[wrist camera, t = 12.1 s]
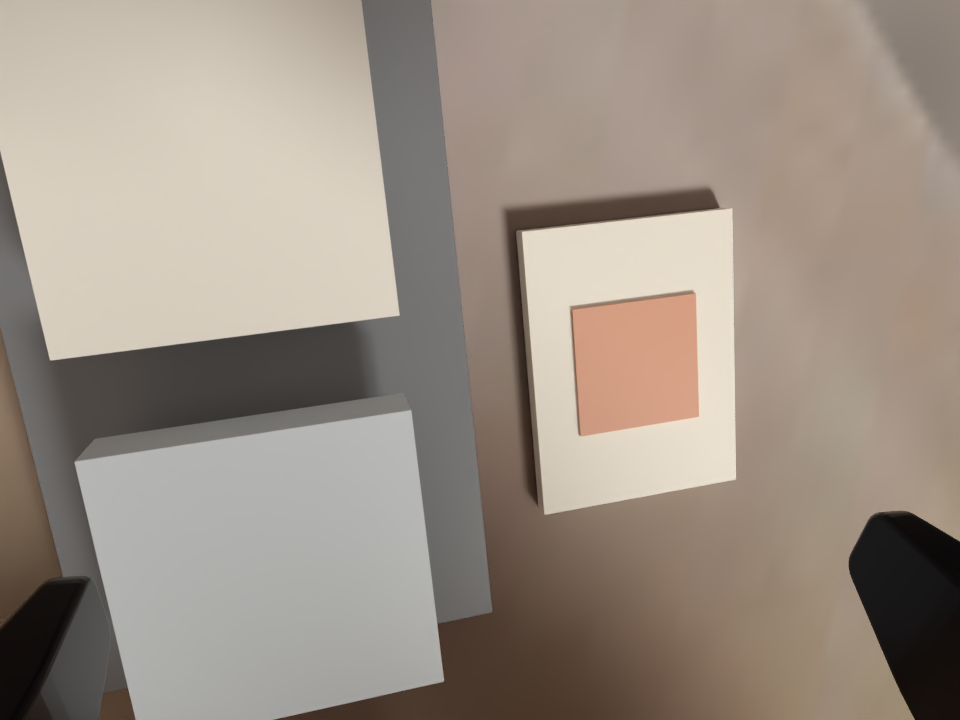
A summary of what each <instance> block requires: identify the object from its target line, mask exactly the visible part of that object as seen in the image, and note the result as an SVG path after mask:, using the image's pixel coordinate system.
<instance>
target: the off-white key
mask: <svg viewBox="0 0 960 720" xmlns="http://www.w3.org/2000/svg"><path fill="white" fill-rule="evenodd" d="M0 152H1V157H2V161H3V165H4V169H5V173H6V178H7V182H8V186H9V190H10V195H11V199H12V203H13V207H14V211H15V216H16V220H17V224H18V228H19V232H20V237H21V241H22V245H23V249H24V253H25V258H26V262H27V266H28V270H29V274H30V279H31V283H32V287H33V291H34V295H35V300H36V304H37V308H38V312H39V316H40V321H41V325H42V329H43V333H44V337H45V342H46V346H47V350H48V354H49V358H50V361H51V360H59V359H67V358H74V357H82V356H90V355H98V354H105V353H113V352H121V351H129V350H136V349H144V348H152V347H160V346H167V345H175V344H183V343H191V342H198V341H206V340H214V339H222V338H229V337H237V336H245V335H253V334H260V333H268V332H276V331H284V330H291V329H299V328H307V327H315V326H322V325H330V324H338V323H346V322H353V321H361V320H369V319H377V318H384V317H392V316H400V314H399V306H398V298H397V290H396V281H395V273H394V265H393V257H392V248H391V240H390V232H389V224H388V215H387V207H386V199H385V191H384V182H383V174H382V166H381V158H380V149H379V141H378V133H377V125H376V116H375V108H374V100H373V92H372V83H371V75H370V67H369V59H368V50H367V42H366V34H365V26H364V17H363V9H362V1H361V0H0Z"/></svg>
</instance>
